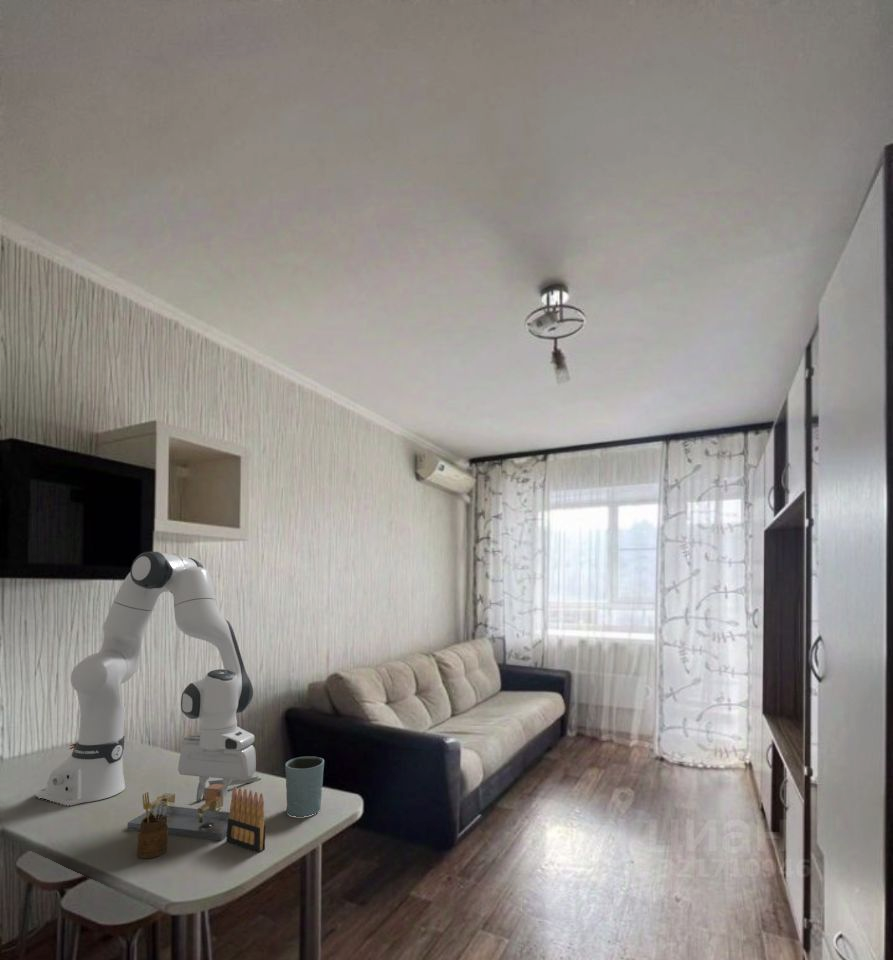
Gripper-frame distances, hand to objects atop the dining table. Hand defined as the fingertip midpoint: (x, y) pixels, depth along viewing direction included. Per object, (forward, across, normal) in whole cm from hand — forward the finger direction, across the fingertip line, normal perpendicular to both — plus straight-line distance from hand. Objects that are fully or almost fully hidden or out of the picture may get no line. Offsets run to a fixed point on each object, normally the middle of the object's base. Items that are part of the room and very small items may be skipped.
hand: (214, 795), depth 140 cm
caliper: (+7, -8, +19) cm, 22 cm away
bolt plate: (+6, -5, -3) cm, 9 cm away
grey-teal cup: (+6, +19, +11) cm, 23 cm away
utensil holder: (+6, -4, -16) cm, 18 cm away
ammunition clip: (+6, +15, -9) cm, 18 cm away
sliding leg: (+4, 0, -2) cm, 5 cm away
